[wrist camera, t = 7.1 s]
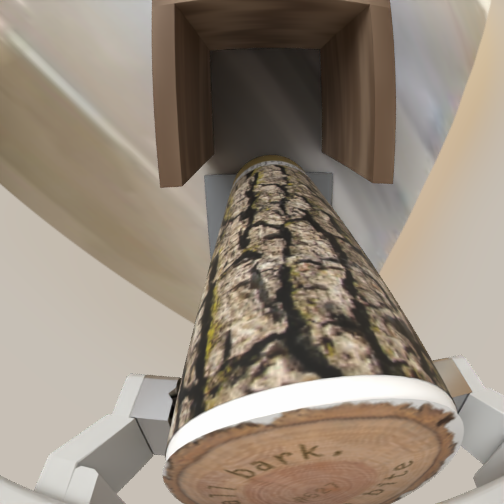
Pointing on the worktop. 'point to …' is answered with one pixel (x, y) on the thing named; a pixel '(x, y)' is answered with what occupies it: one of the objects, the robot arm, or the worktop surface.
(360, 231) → the worktop surface
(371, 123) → the brown wooden holder
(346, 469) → the bark log cylinder
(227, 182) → the grey mat
